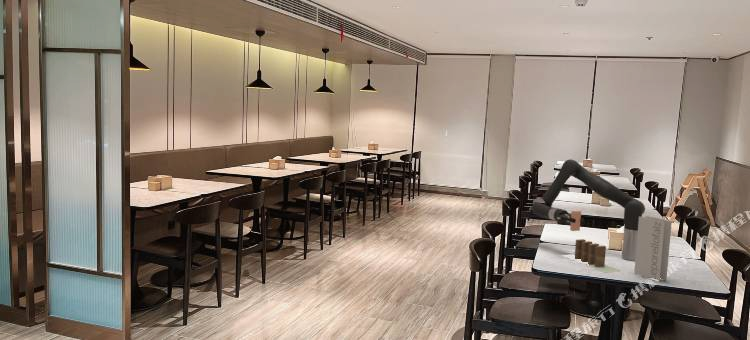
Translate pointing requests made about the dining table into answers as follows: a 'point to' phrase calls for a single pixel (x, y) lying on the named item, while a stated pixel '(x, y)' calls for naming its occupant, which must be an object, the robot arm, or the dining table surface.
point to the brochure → (652, 247)
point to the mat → (605, 269)
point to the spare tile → (576, 216)
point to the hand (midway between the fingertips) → (579, 220)
